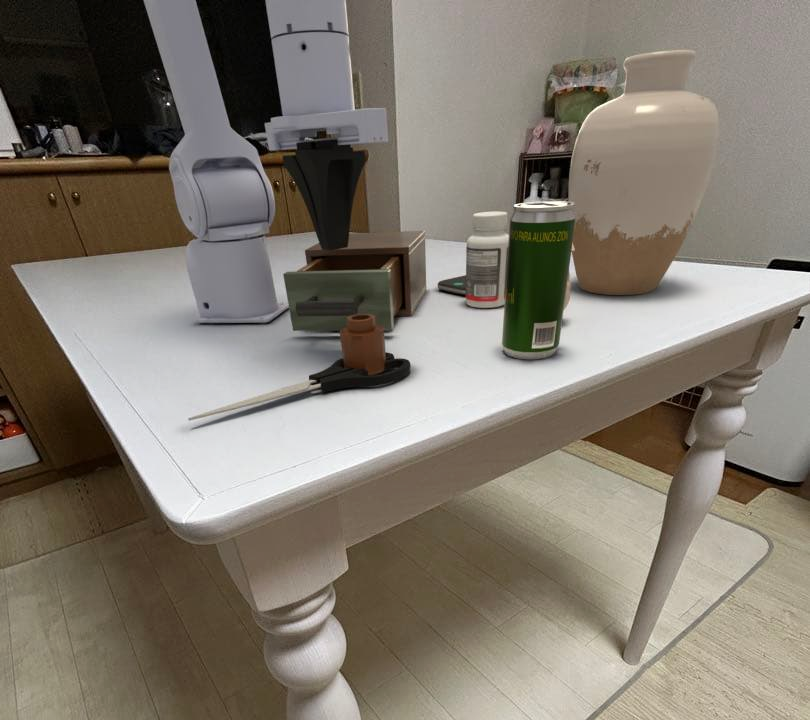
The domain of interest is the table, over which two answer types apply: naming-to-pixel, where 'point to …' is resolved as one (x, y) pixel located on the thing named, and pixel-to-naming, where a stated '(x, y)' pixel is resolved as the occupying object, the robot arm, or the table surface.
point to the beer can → (537, 277)
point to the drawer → (345, 291)
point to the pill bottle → (487, 260)
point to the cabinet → (388, 243)
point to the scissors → (329, 382)
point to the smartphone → (454, 285)
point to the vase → (640, 175)
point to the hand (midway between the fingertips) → (334, 248)
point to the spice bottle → (363, 344)
